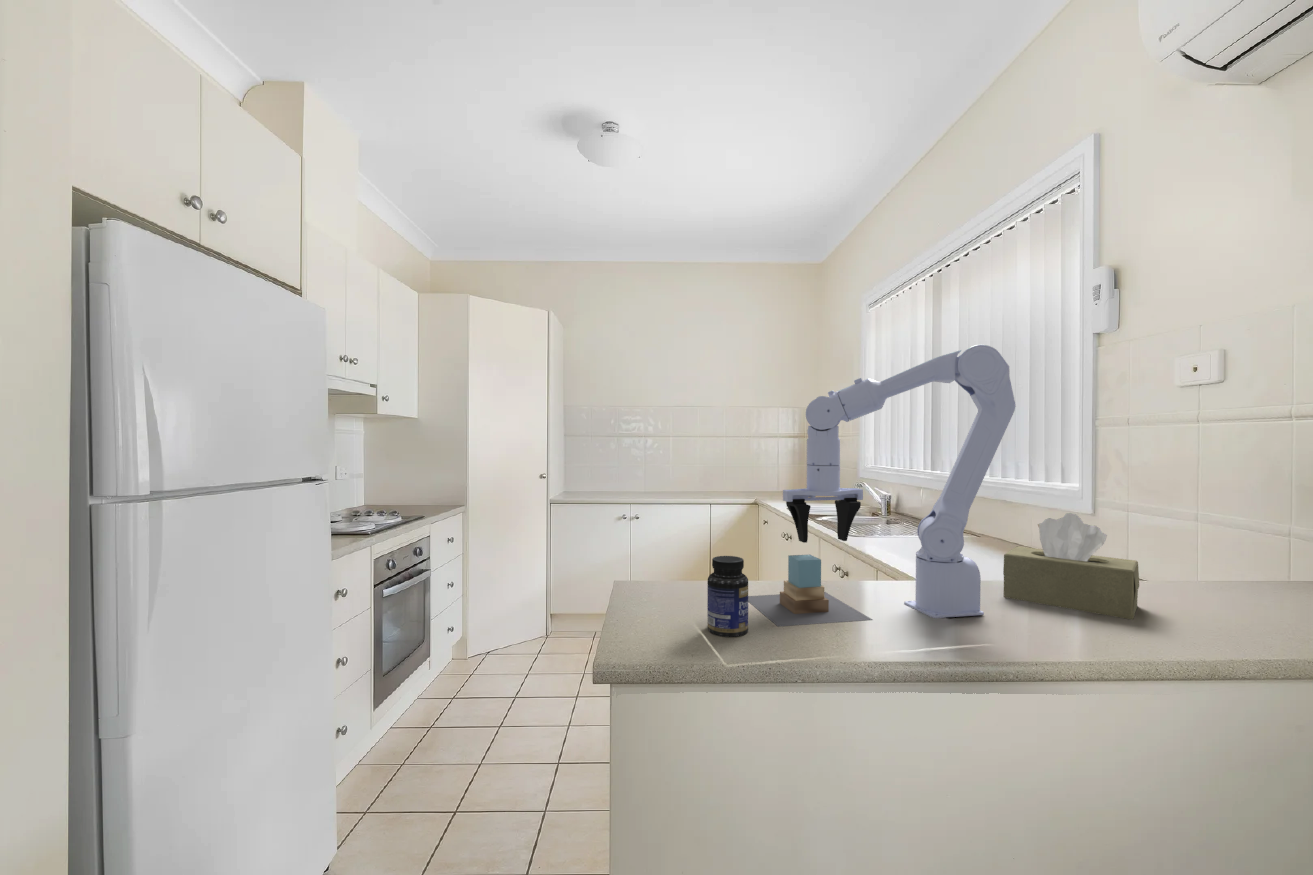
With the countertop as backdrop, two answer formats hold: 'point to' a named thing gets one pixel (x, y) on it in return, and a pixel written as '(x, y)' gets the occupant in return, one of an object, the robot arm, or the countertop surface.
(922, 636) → the countertop surface
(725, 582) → the pill bottle
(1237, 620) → the countertop surface
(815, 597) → the tower mid
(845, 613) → the mat
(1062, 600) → the tissue box
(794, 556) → the block
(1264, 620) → the countertop surface
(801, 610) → the tower base
